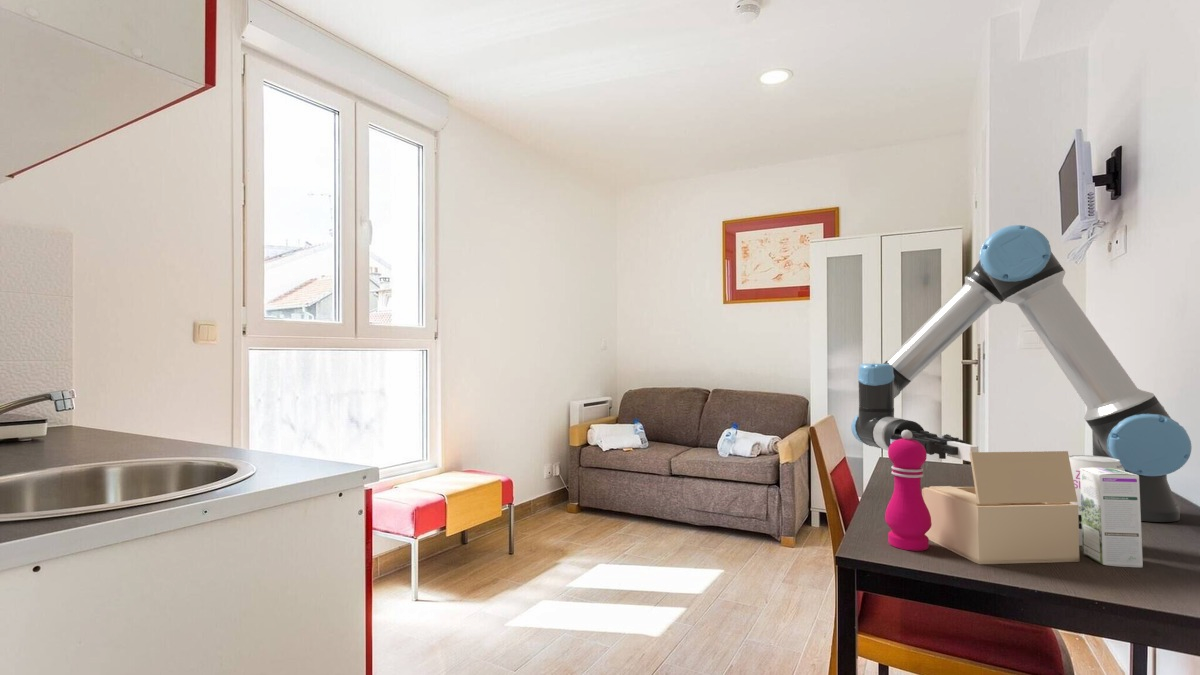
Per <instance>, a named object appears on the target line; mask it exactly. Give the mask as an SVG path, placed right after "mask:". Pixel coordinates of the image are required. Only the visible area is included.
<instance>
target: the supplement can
mask: <svg viewBox="0 0 1200 675" xmlns="http://www.w3.org/2000/svg"><path fill="white" fill-rule="evenodd" d="M1069 460H1070V465H1071V470H1072V475H1073V480H1074V485H1075V491H1076V496H1077V501H1078V502H1070V503H1073V504H1076V505H1078V519H1079V547H1083V543H1082V517H1081V489H1080V468H1091V467H1102V468H1114V469H1118V470H1122V471H1125V469H1124V468H1123V466H1122V465H1121V463H1120V460H1118V459H1114V458H1109V457H1101V456H1093V455H1088V454H1072V455H1069Z"/></svg>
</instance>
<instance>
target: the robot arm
mask: <svg viewBox="0 0 1200 675" xmlns="http://www.w3.org/2000/svg"><path fill="white" fill-rule="evenodd" d="M978 258H979V260H978V262H976V264H975V266H974V267H973V268H972V269H971V271H970V272H969V273H968V274H966V275H965V276H964V283H963V285H962V286H961V287H960V288H958V290H957V291H956V292H955V293H954V294H952V296H951V297H950V298H948V300H946V301H945V302H944V304H943V305H941V306H940V308H938V310H937V311H935V312H934V313H933V314H932V315H931V316H930V317H929V318H928V319H927V320H926V321H925V322H924V324H922V325H921V326H920V327H919V328H918V329H917V330H916V331H915V332H914V333H913V334H912V335H911V336H910V337H909V338H907V340H906V341H905V342H904V343H903V344H902V345H900V346H899V348H898V349H896V351H894V352H893V353H892V355H891V356H890V357H888V358H887V359H886V360H885V362H883V363H861V364H860V365H859V366H858V376H857V380H858V382H857V383H858V403H859V404H858V414H857V415H856V416H855V417H854V418H853V420H852V423H851V433H852V436H853V437H854V438H855V439H856V440H857V441H859V442H860V443H862V444H864V445H866V446H869V447H874V448H877V449H881V450H885V451H888V449H889V446H890V444H891V443H892V442H894V441H895V440H898V439H903V438H902V436H901V433H902V431H904V430H909V431H911V432H912V438H911V439H913V440H916V441H918V442H919V443H921V444H922V445H923V446H924V448H925V450H926V455H927V454H928V455H930V456H933V455H935V454H936V455H938V458H939V459H941V460H946V459H947V457H950V458H954V459H958V460H962V461H966V462H970V463H971V459H970V452H979V446H977V445H973V444H970V443H969V444H968V443H966V440H963V439H959V437H953V436H951V434H949V433H948V434H944V435H940V437H938V434H937V433H932V432H929V431H927V430H925V429H924V428H923V426H921V424H919V423H917V422H916V421H914V420H909V419H904V418H900V417H895V398H897V397H898V396H899V395H900V393H901V392H902V391H903V390H904V389H905V388H906V387H907V386H908V385H910V383H911V382H912V381H913V380H914V379H915V378H917V377H918V375H920V374H921V373H922V372H923V370H925V369H926V368H927V367H928V366H929V365H930V364H931V363H932V362H933V361H935V359H937V358H938V357H939V356H940V355H941V354H942V353H943V352H944V351H946V349H947V348H948V347H950V346H951V345H952V344H953V343H954V342H955V341H956V340H957V339H958V338H959V337H960V336H962V334H963V333H964V332H965V331H967V330H968V329H969V328H970V327H971V326H972V325H973V324H974V323H975V322H976V321H977V320H978V319H979V318H980V317H981V316H982V315H983V314H984V313H986V312H987V311H988V309H990V308H991V307H992V306H994V305H1001V304H1002V303H1003V302H1004V301H1005V302H1006V303H1012V304H1016V305H1017V306H1018V308H1019V309H1020V310H1021V312H1022V313H1023V315H1024V316H1025V317H1026V319H1027V321H1028V322H1029V324H1030V325H1031V326H1032V328H1033V330H1034V331H1035V333H1036V334H1037V335H1038V337H1039V338H1040V340H1041V341H1042V342H1043V344H1044V346H1045V347H1046V349H1047V350H1048V351H1049V353H1050V355H1051V356H1052V357H1053V358H1054V360H1055V362H1056V363H1057V365H1058V367H1059V368H1060V369H1061V371H1062V372H1063V374H1064V375H1065V376H1066V378H1067V380H1068V381H1069V383H1070V384H1071V385H1072V387H1073V388H1074V390H1075V391H1076V393H1077V394H1078V395H1079V397H1080V399H1081V400H1082V401H1083V404H1084V405H1085V406H1086V412H1085V415H1084V418H1083V419H1084V421H1085V422H1086V423H1087V424H1088V426H1089V427H1090V429H1091V431H1092V456H1101V457H1109V458H1114V459H1118V460H1120V463H1121V465H1122V466H1123V468H1124V469H1125V472H1129V473H1132V474H1136V475H1139V486H1140V511H1141V522H1149V523H1150V522H1151V523H1158V522H1159V523H1171V522H1173V523H1174V522H1177V521H1179V520H1180V519H1181V516H1180V515H1181V514H1180V513H1181V511H1180V507H1179V505H1178V504H1177V503H1176V501H1175V497H1174V494H1173V491H1172V489H1171V487H1170V484H1169V482H1168V476H1167V475H1169V474H1172V473H1175V472H1177V471H1178V470H1180V469H1181V468H1183V467H1184V466H1185V464H1186V463H1187V462H1188V461H1189V459H1190V457H1191V454H1192V447H1193V446H1192V441H1191V439H1190V436H1189V433H1188V432H1187V430H1186V429H1185V428H1184V426H1182V425H1180V423H1179V422H1177V421H1176V420H1174V419H1173V418H1172V417H1171V416H1170V415H1169V413H1168V412H1167V411H1166V409H1165V407H1164V406H1163V404H1162V403H1161V402H1160V400H1158V398H1157V396H1156V395H1155V394H1154V392H1150V391H1146V390H1142V389H1139V387H1137V385H1136V384H1135V383H1134V381H1133V380H1132V378H1131V377H1130V375H1129V374H1128V373H1127V372H1126V370H1125V368H1124V367H1123V366H1122V364H1121V363H1120V362H1119V360H1118V358H1116V356H1115V354H1114V353H1113V352H1112V350H1111V349H1110V347H1109V346H1108V345H1107V343H1106V342H1105V341H1104V339H1103V338H1102V336H1101V335H1100V334H1099V332H1098V331H1097V329H1096V327H1095V326H1094V325H1093V324H1092V322H1091V321H1090V320H1089V318H1088V317H1087V315H1086V314H1085V313H1084V311H1083V310H1082V308H1081V307H1080V305H1079V304H1078V303H1077V301H1076V300H1075V299H1074V297H1073V296H1072V294H1071V292H1070V291H1069V290H1068V289H1067V287H1066V285H1065V284H1064V283H1063V281H1064V277H1065V275H1066V270H1065V269H1064V268H1063V266H1062V265H1061V263H1060V262H1059V261H1058V259H1057V257H1056V256H1055V255H1054V254H1053V252H1052V250H1051V245H1050V241H1049V239H1048V238H1047V237H1046V236H1045V235H1044V233H1042V232H1040V230H1038V229H1036V228H1034V227H1031V226H1027V225H1023V224H1020V225H1019V224H1014V225H1008V226H1005V227H1002V228H1000V229H998V230H996V231H994V232H993V233H991V234H990V235H989V236H988V238H986V239H985V241H984V242H983V243H982V245H981V248H980V250H979V255H978Z"/></svg>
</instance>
